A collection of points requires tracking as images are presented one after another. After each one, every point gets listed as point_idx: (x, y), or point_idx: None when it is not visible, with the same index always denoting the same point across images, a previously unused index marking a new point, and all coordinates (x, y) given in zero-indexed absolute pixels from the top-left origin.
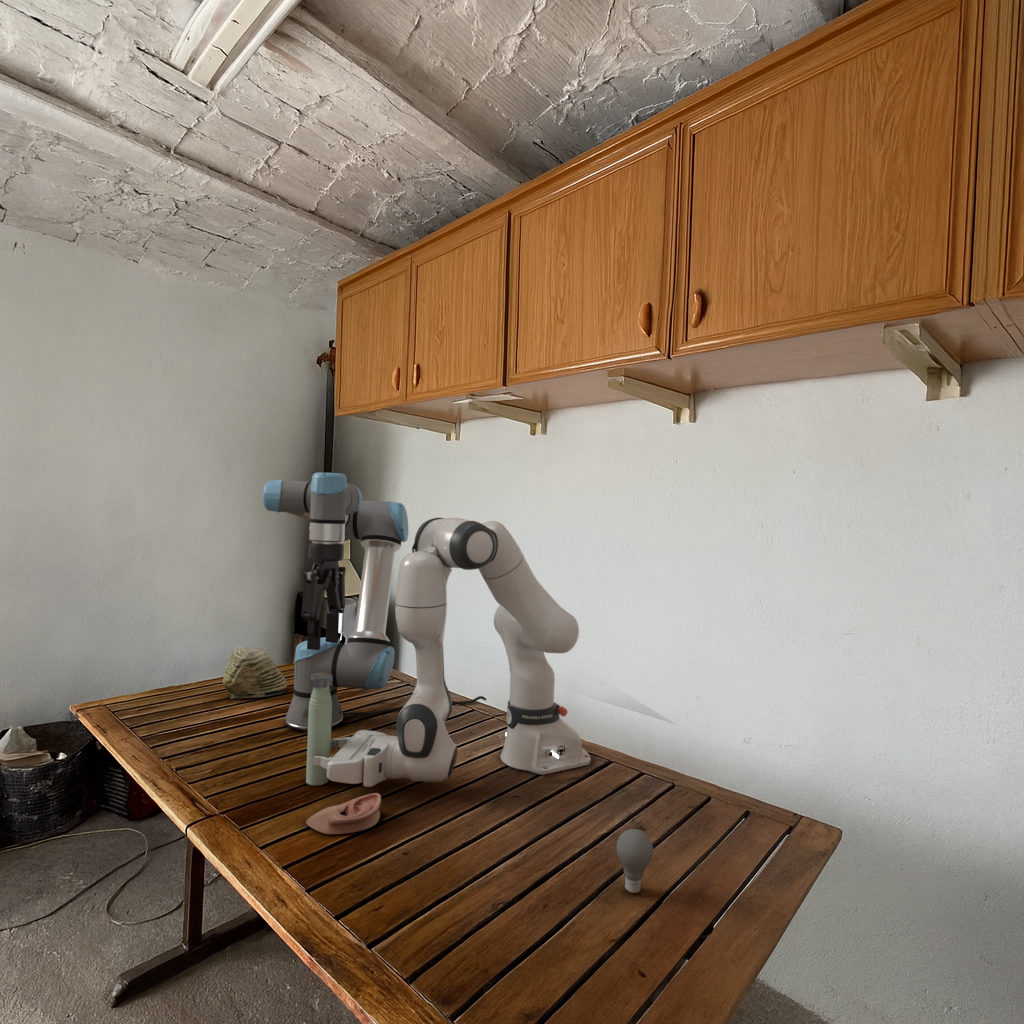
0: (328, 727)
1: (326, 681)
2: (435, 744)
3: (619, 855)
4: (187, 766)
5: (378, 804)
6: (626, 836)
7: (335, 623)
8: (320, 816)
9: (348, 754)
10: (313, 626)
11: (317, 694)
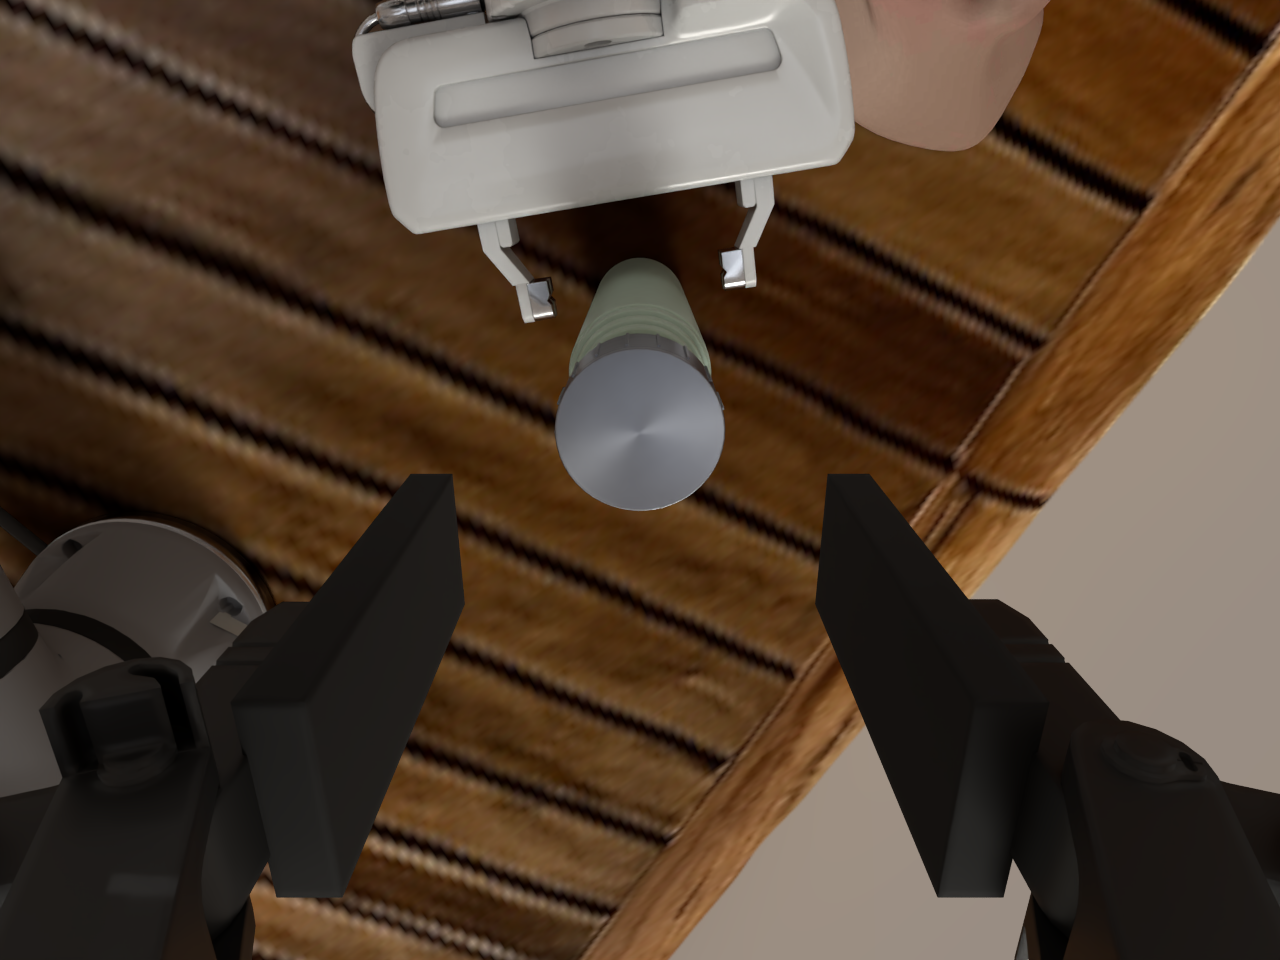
0: (650, 287)
1: (683, 355)
2: None
3: None
4: (691, 752)
5: None
6: None
7: (373, 624)
8: (984, 82)
9: (727, 105)
10: (1082, 681)
11: None
